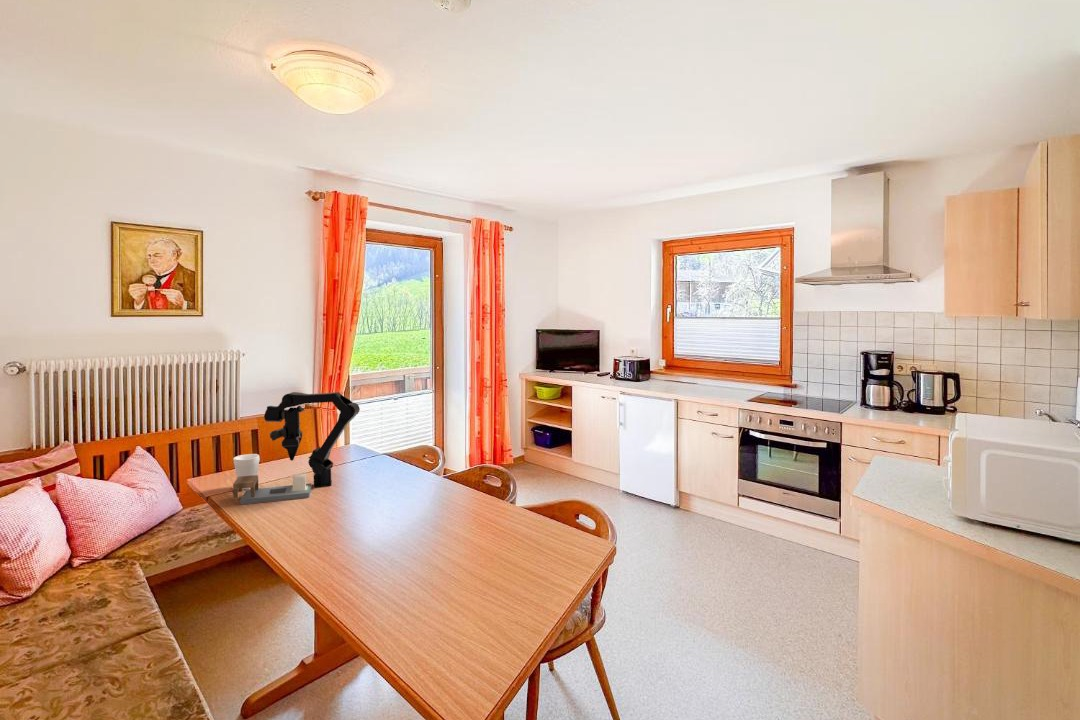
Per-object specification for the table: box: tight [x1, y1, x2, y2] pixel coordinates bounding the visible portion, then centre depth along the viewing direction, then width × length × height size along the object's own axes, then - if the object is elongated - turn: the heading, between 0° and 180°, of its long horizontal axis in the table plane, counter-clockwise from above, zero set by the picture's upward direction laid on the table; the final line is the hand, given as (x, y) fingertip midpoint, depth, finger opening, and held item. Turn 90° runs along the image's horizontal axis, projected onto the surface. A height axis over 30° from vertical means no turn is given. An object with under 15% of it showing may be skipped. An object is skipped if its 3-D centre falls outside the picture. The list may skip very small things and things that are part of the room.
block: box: [292, 472, 307, 491], centre depth 200 cm, size 4×4×6 cm
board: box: [240, 483, 313, 506], centre depth 197 cm, size 24×12×2 cm, turn 111°
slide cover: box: [232, 474, 259, 500], centre depth 193 cm, size 7×9×6 cm
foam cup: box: [232, 453, 260, 490], centre depth 207 cm, size 10×9×13 cm
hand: (293, 457), depth 210 cm, fingers open, 9 cm apart
